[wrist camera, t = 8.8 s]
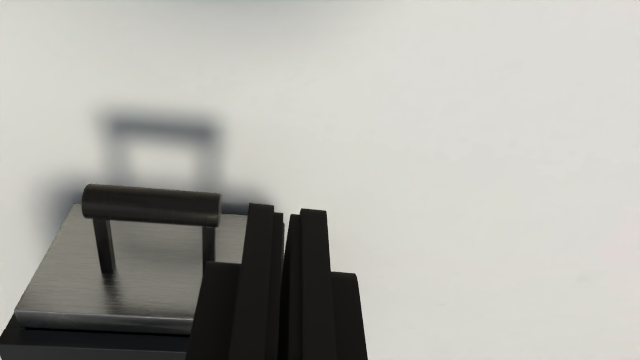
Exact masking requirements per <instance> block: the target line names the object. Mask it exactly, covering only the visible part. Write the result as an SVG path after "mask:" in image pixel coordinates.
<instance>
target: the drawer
mask: <svg viewBox="0 0 640 360" xmlns="http://www.w3.org/2000/svg"><path fill="white" fill-rule="evenodd" d="M221 209H222V195H221V194H220V193H207V192H194V191H180V190H167V189H154V188H140V187H127V186H113V185H100V184H88V185H87V186H86V187H85V189H84V192H83V195H82V202H81V204H78V203H74V205H73V207H72V208H71V210H70V212H69V214H68V215H67V217H66V219H65V221H64V223H63V224H62V226H61V228H60V230H59V231H58V233H57V235H56V237H55V239H54V240H53V242H52V244H51V246H50V247H49V249H48V251H47V253H46V255H45V256H44V258H43V260H42V262H41V263H40V265H39V267H38V269H37V270H36V272H35V274H34V276H33V278H32V279H31V281H30V283H29V285H28V286H27V288H26V290H25V292H24V294H23V295H22V297H21V299H20V301H19V302H18V304H17V306H16V308H15V310H14V312H15V315H16V318H17V321H18V325H19V327H25V328H47V329H52V330H51V331H70V332H92V333H114V334H135V335H157V336H179V337H190V334H191V329H192V324H193V319H194V315H195V310H196V305H197V301H198V296H199V291H200V286H201V282H202V277H203V272H204V268H205V264H206V261H215V262H227V263H238V264H241V262H242V254H243V247H244V239H245V231H246V224H247V216H248V215H234V214H221Z"/></svg>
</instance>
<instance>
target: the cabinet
mask: <svg viewBox="0 0 640 360" xmlns="http://www.w3.org/2000/svg"><path fill="white" fill-rule="evenodd" d="M284 227H285V224H284V223H283V234H282V259H281V274H282V267H283V261H284ZM51 330H52V329H47V328H25V327H19V325H18V321H17V318H16V315H15V312H14V314H13V316H12V318H11V319H10V321H9V323H8V325H7V326H6V329H4V331H3V333H2V335H1V336H0V356H1V359H2V360H185V357H186V352H187V348H188V343H189V338H190V337H179V336H157V335H135V334H114V333H92V332H70V331H51Z"/></svg>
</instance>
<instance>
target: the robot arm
mask: <svg viewBox="0 0 640 360" xmlns="http://www.w3.org/2000/svg"><path fill="white" fill-rule="evenodd" d="M282 234H283V213H276V212H274V206H273V205H263V204H253V203H249V208H248V216H247V224H246V231H245V239H244V247H243V254H242V262H241V264H238V263H227V262H215V261H206V264H205V268H204V272H203V277H202V282H201V286H200V291H199V296H198V301H197V305H196V310H195V315H194V319H193V324H192V329H191V334H190V338H189V343H188V348H187V352H186V357H185V360H368V358H367V350H366V342H365V334H364V326H363V319H362V311H361V303H360V295H359V287H358V281H357V276H356V274H354V273H343V272H331V269H330V255H329V240H328V226H327V214H326V211H323V210H313V209H303V208H301V211H300V215H296V214H291V216H290V221H289V228H288V234H287V241H286V248H285V254H284V261H283V267H282V274H281V259H282Z"/></svg>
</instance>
